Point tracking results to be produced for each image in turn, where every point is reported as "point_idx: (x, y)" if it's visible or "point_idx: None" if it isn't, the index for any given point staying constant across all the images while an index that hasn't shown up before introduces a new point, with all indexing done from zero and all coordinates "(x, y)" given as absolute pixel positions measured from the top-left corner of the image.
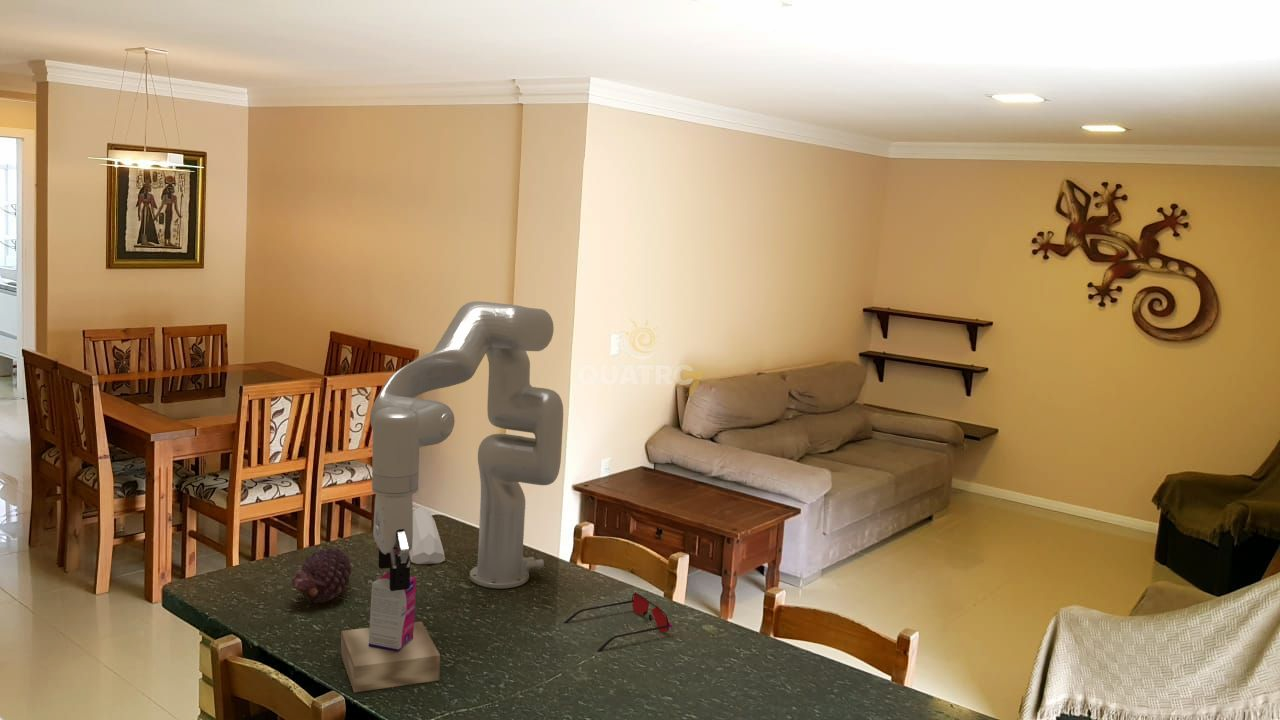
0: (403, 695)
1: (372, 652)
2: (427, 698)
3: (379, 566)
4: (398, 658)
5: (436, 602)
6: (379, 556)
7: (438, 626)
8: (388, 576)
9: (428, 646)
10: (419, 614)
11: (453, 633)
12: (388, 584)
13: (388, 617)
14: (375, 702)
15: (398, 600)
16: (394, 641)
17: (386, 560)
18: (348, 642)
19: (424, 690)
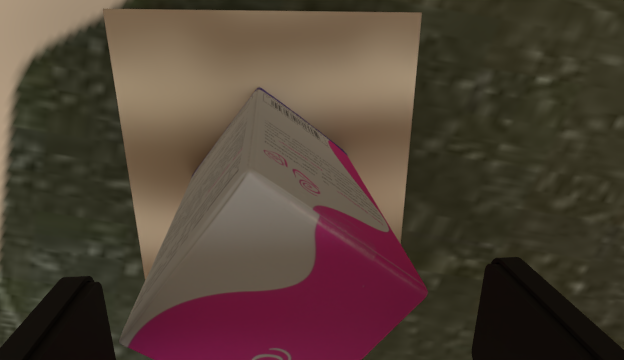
0: (94, 148)
1: (210, 93)
2: (67, 204)
3: (502, 264)
4: (145, 169)
5: (594, 307)
6: (554, 313)
7: (464, 291)
8: (345, 291)
9: None
10: (549, 261)
11: (412, 316)
12: (200, 275)
13: (195, 189)
14: (60, 65)
15: (150, 275)
16: (194, 176)
17: (510, 336)
18: (315, 21)
19: (115, 204)
